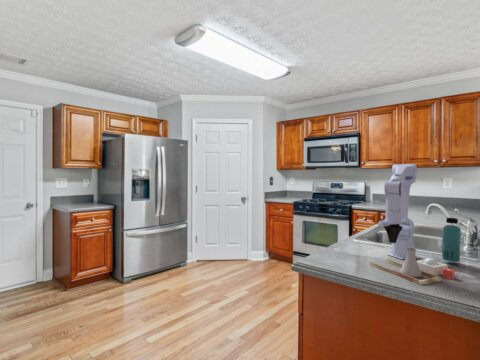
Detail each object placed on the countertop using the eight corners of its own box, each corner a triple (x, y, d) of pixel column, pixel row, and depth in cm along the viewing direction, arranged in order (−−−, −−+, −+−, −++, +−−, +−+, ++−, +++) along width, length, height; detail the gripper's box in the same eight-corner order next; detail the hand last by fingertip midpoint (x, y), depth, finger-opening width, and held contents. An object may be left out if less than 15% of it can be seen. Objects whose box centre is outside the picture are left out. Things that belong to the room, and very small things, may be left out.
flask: (395, 272, 114) (396, 247, 113) (410, 270, 115) (411, 246, 115) (410, 278, 107) (411, 252, 106) (426, 277, 108) (426, 251, 108)
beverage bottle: (457, 262, 127) (459, 217, 126) (462, 266, 121) (463, 219, 120) (440, 260, 130) (441, 216, 129) (443, 264, 124) (444, 218, 123)
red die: (445, 275, 110) (445, 267, 110) (454, 277, 108) (454, 269, 108) (442, 277, 108) (443, 269, 108) (452, 279, 106) (452, 271, 106)
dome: (428, 267, 118) (428, 255, 118) (441, 270, 113) (441, 259, 113) (420, 268, 116) (420, 256, 116) (432, 272, 111) (432, 260, 111)
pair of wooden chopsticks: (388, 262, 126) (388, 259, 126) (441, 280, 105) (441, 277, 105) (369, 264, 122) (369, 262, 122) (421, 284, 101) (421, 281, 101)
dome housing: (427, 267, 120) (427, 259, 120) (447, 273, 112) (447, 264, 112) (414, 269, 117) (414, 261, 117) (433, 276, 109) (433, 267, 109)
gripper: (397, 208, 125) (396, 238, 126) (372, 209, 120) (371, 241, 120) (412, 210, 119) (411, 242, 119) (386, 212, 113) (386, 246, 114)
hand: (392, 242), depth 119 cm, fingers closed
